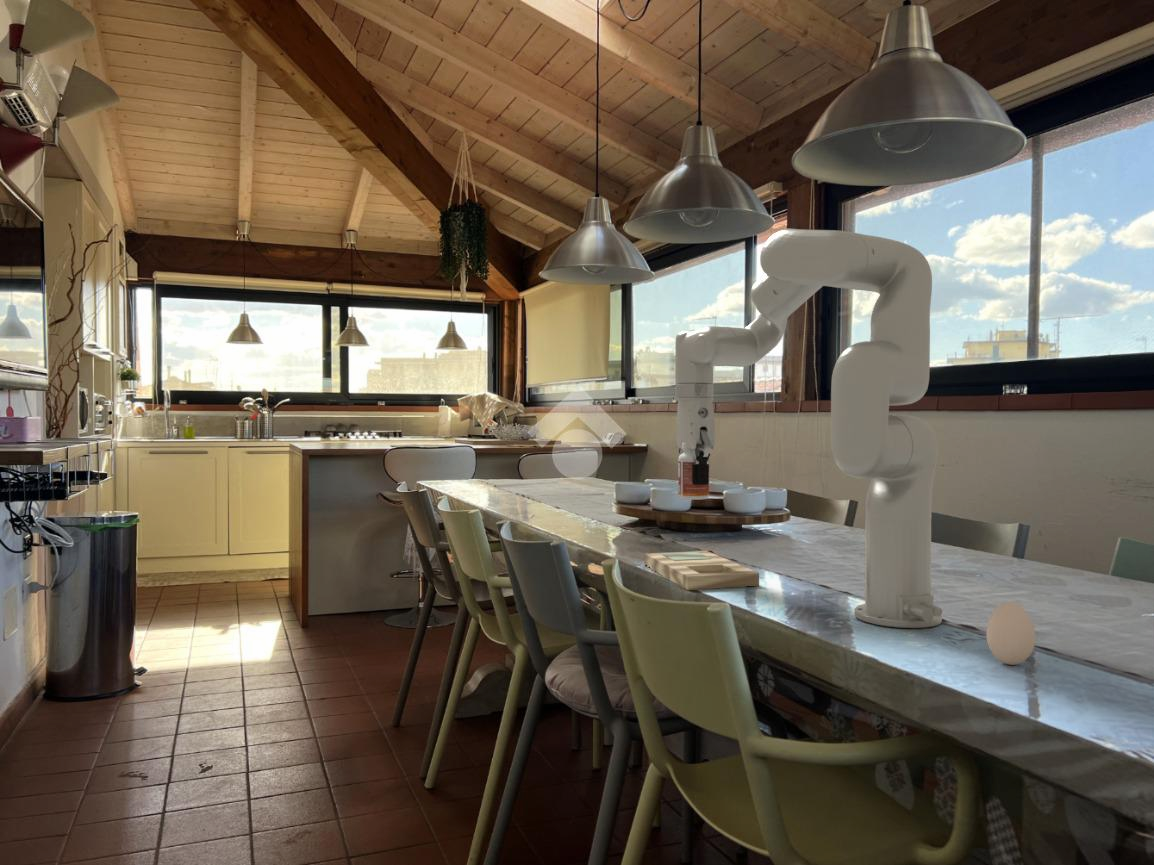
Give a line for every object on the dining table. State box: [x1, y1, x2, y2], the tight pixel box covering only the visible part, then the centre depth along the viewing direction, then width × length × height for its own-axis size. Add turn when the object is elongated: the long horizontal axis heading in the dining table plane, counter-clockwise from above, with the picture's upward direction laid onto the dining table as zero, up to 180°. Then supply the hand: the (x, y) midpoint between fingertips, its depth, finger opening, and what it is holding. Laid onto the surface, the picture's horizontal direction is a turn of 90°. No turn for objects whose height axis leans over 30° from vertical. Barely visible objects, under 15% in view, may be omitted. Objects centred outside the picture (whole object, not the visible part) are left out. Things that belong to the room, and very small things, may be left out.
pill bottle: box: [677, 443, 710, 501], centre depth 167 cm, size 6×6×11 cm
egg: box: [986, 601, 1036, 666], centre depth 106 cm, size 6×6×8 cm
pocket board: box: [643, 550, 760, 591], centre depth 165 cm, size 26×14×3 cm, turn 13°
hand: (693, 482), depth 167 cm, fingers closed on pill bottle, 6 cm apart
